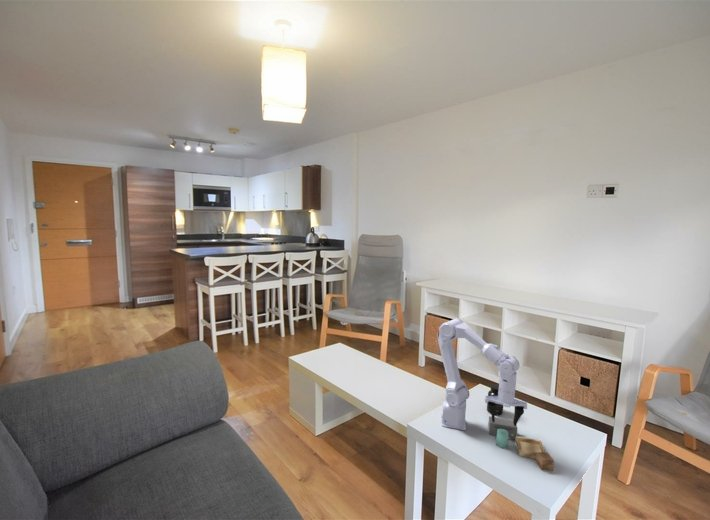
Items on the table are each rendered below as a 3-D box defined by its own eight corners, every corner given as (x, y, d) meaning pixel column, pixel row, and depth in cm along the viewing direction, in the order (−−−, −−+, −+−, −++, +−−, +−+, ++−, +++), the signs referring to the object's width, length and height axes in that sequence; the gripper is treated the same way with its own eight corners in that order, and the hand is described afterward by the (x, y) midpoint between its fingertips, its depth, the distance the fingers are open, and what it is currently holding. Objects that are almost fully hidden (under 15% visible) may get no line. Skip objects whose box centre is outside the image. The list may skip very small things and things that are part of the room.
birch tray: (519, 455, 130) (519, 450, 130) (515, 440, 139) (515, 435, 139) (546, 460, 128) (546, 455, 128) (540, 445, 137) (540, 440, 136)
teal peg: (496, 447, 135) (497, 433, 134) (495, 440, 139) (496, 427, 138) (508, 449, 134) (509, 435, 133) (506, 442, 137) (507, 429, 137)
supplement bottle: (485, 406, 163) (487, 382, 161) (500, 408, 162) (502, 383, 160) (488, 415, 156) (490, 389, 155) (504, 416, 155) (507, 391, 154)
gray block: (489, 434, 142) (490, 423, 142) (488, 427, 147) (489, 416, 146) (517, 439, 140) (518, 427, 139) (514, 431, 144) (515, 420, 144)
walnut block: (541, 470, 123) (542, 460, 123) (535, 462, 127) (536, 452, 127) (552, 470, 123) (554, 460, 123) (546, 462, 127) (547, 452, 127)
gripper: (487, 390, 131) (484, 425, 133) (530, 397, 127) (526, 432, 129) (485, 382, 138) (483, 414, 140) (526, 388, 134) (523, 421, 136)
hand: (503, 422), depth 135 cm, fingers open, 7 cm apart
